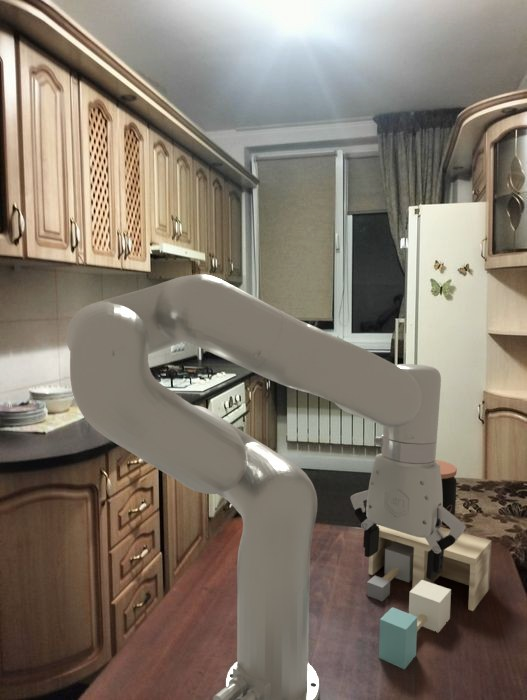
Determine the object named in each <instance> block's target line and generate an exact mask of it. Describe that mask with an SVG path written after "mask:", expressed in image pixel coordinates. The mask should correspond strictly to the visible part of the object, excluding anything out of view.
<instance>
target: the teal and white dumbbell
mask: <svg viewBox="0 0 527 700" xmlns="http://www.w3.org/2000/svg"><path fill="white" fill-rule="evenodd" d="M451 595H452V589H451V588H447V587H445V586H442V585H438V584H436V583H434V582H433V583H430V582H427V581H424V580H421V581H420V582H419V583H418V584H417V585H416V586H415V587H414V588H413V589H412V588H411V590H410V591H409V596H408V598H409V599H408V601H409V602H408V612H406V611H404V610H403V611H402V610H400V609H399V608H395V607H391V608H389V610H387V612H385V613H384V614H383V616H382V617H381V618H379V640H378V641H379V642H378V644H379V645H378V659H381V660H383V661H385V662H387V663H389V664H391V665H394V666H395V667H398V668H401V669H402V670H406V669H407V668H408V666H409V665H410V663H412V661H413V660H414V659H413V658H416V656H417V640H418V639H417V636H418V631H419V630H420V629H421V628H422V627H423V628H425V629H427V630H430V631H433V632H435V631H436V632H435V633H438V634H439V632H441V631H442V629H443V628H444V626H445V625H446V624H447V623H448V622H449V620H450V619H451ZM446 622H447V623H446Z"/></svg>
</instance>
